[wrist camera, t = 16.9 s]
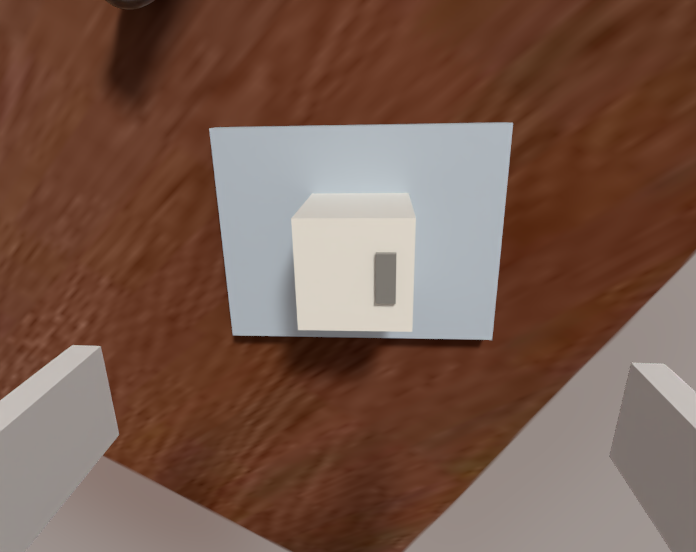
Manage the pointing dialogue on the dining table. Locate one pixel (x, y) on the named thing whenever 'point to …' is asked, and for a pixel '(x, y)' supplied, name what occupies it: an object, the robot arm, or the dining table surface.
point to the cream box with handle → (354, 262)
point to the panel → (365, 177)
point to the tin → (129, 3)
